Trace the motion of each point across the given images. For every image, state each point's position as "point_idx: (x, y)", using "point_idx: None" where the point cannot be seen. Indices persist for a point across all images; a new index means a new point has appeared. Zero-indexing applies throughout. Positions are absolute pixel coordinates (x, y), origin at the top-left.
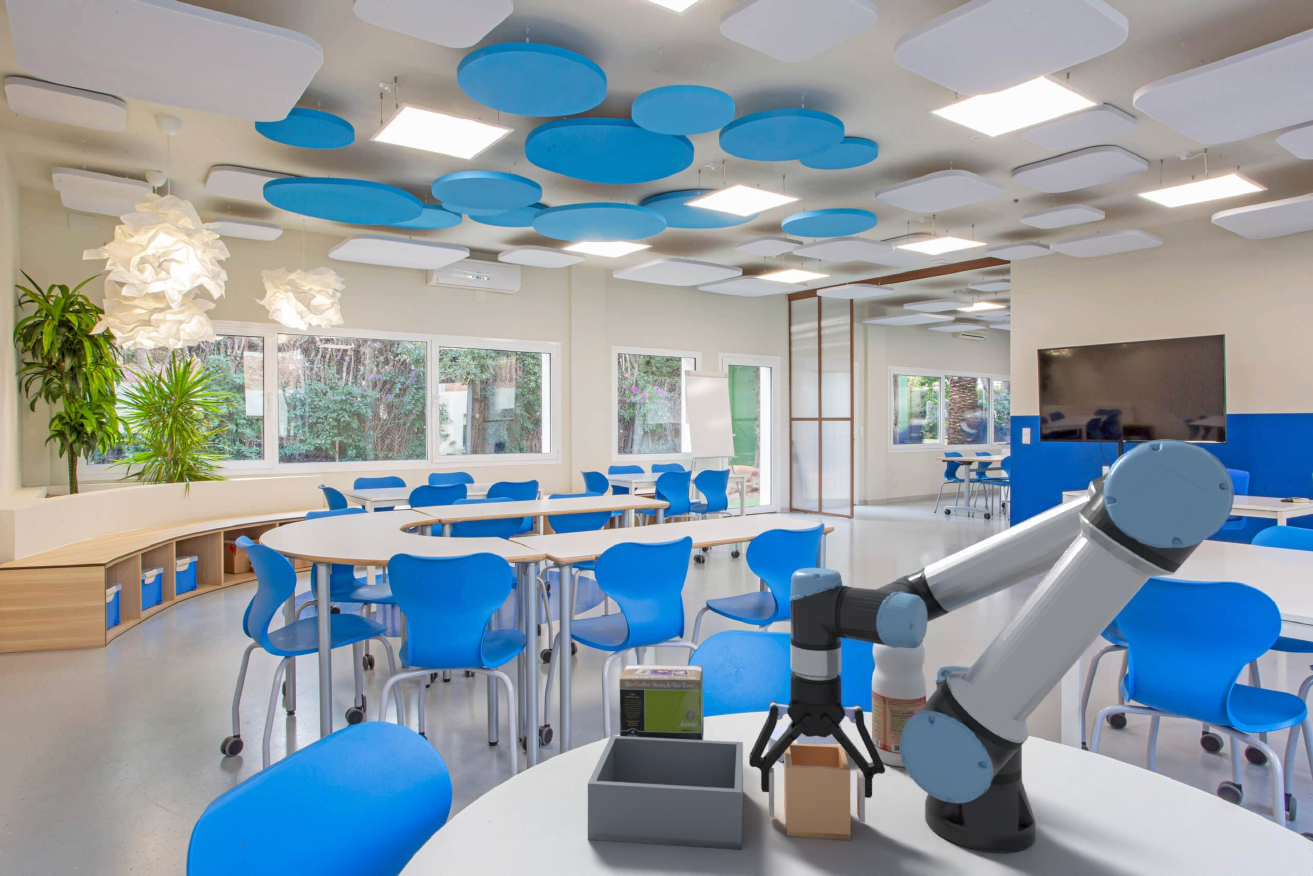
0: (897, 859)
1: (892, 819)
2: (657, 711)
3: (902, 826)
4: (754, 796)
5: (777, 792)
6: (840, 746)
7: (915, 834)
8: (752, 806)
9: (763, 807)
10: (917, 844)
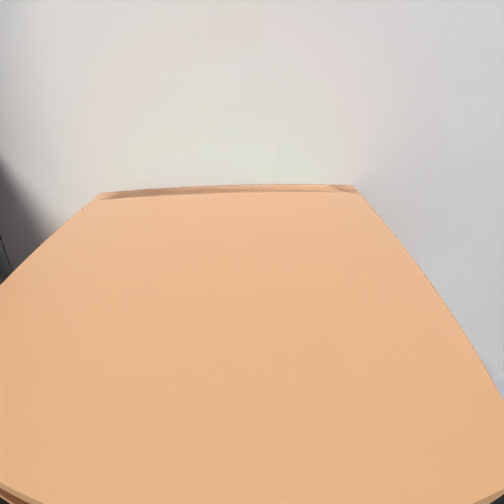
0: None
1: (490, 235)
2: None
3: (494, 272)
4: (3, 136)
5: (66, 69)
6: (497, 494)
7: (498, 305)
8: (14, 212)
9: (41, 212)
10: (476, 344)
